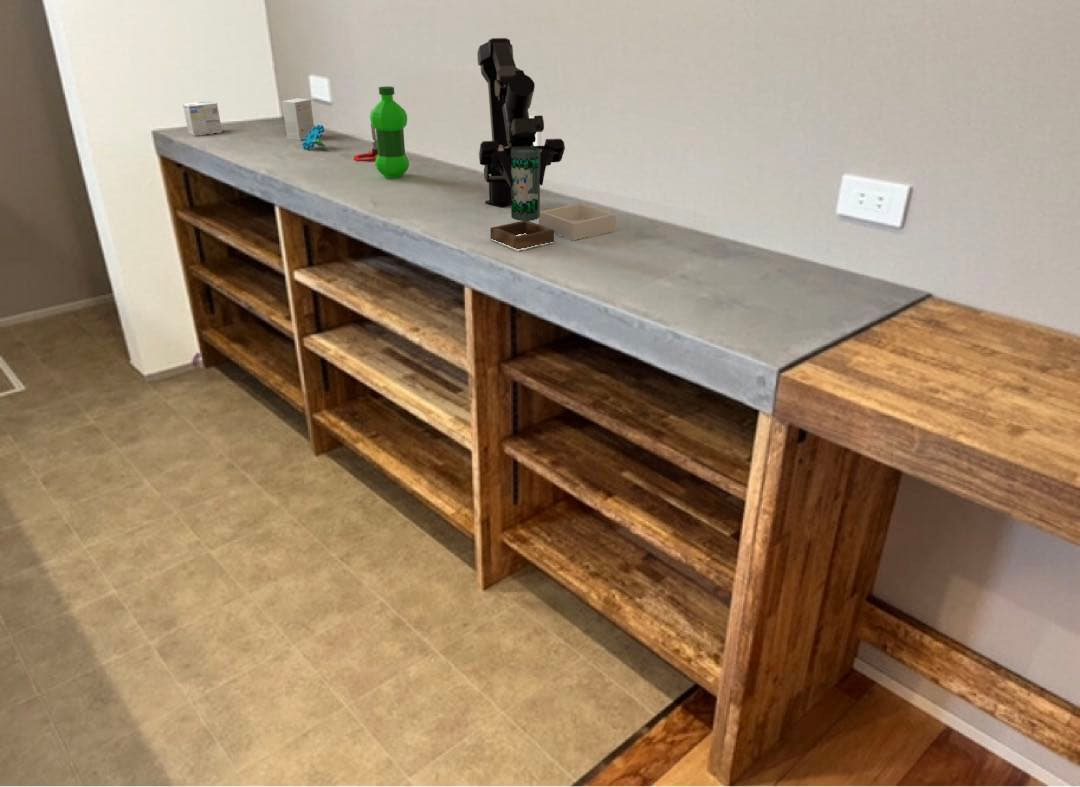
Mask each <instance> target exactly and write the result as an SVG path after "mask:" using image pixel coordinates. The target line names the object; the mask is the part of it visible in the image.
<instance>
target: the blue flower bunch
mask: <svg viewBox="0 0 1080 787" xmlns="http://www.w3.org/2000/svg"><path fill="white" fill-rule="evenodd" d="M324 132H325V127H324V125H323V124H317V125H316V126H314V127H313V128H312V131H309V132H308V133H307V134H308V137H306V136H305V137H304V140H303V141H302V143H301V145H302V149H304V150H307V151H309V150H310V148H311V149H313V148H314V147H315V145H317V146H318V147H321V148H323V149H324V150H325V151H326V150H328V148H327V147H326V145H325V144H324V143H323V141H321V139H322V138H323V136H324V135H323V133H324ZM319 138H320V139H319Z"/></svg>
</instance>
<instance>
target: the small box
mask: <svg viewBox="0 0 1080 787" xmlns="http://www.w3.org/2000/svg"><path fill="white" fill-rule="evenodd" d="M281 103H282V104H281V105H282V109H283V110H282V111H283V118H284V126H285V131H286V139H287V140H291V141H292V140H293V141H299V140H300V141H305V140H304V137H305V136H306V137H308V134H307V133H308V132H309V131H312V128H313V127H315V125H314V117H313V115H314V114H313V110H312V109H313V108H312V101H311V99H309V98H299V97H297V98H293V99H288V100H283V101H281Z"/></svg>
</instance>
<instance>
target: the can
mask: <svg viewBox="0 0 1080 787" xmlns="http://www.w3.org/2000/svg"><path fill="white" fill-rule="evenodd" d="M511 176H512V182H513V186H512V187H511V205H510V208H511V210H510V212H511V214H510V215H511V219H512V220H516V221H518V222H520V221H530V222H532V221H536V220H539V217H540V210H541V209H540V208H541V185H540V149H538V148H534V147H526V146H525V147H516V148H513V149H511Z"/></svg>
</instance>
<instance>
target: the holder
mask: <svg viewBox="0 0 1080 787" xmlns="http://www.w3.org/2000/svg"><path fill="white" fill-rule="evenodd" d="M489 229H490V235H489V236H490V240H491V239H493V240H496V241H498V242H501V243H504V244H506V245H509V246H511V247H513V248H516V249H521V248H527V247H531V246H535V245H540V244H545V243H550V242H554V243H555V234H554V230H552V229H549V228H546V227H544V226H541V225H539V223H535V222H532V221H516V222H511V223H506V224H501V225H498V226H492V227H490V228H489ZM524 233H526V234H527V235H522V236H516V235H518V234H524Z"/></svg>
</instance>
